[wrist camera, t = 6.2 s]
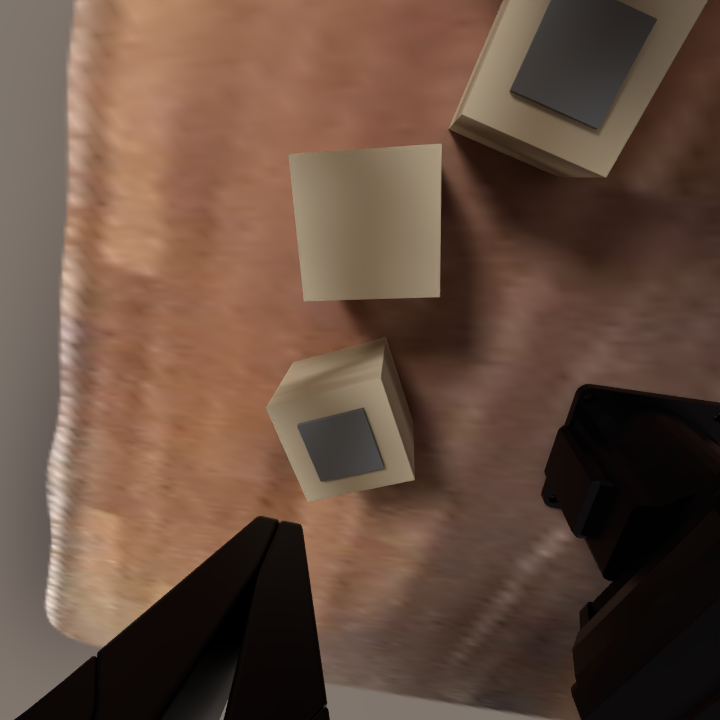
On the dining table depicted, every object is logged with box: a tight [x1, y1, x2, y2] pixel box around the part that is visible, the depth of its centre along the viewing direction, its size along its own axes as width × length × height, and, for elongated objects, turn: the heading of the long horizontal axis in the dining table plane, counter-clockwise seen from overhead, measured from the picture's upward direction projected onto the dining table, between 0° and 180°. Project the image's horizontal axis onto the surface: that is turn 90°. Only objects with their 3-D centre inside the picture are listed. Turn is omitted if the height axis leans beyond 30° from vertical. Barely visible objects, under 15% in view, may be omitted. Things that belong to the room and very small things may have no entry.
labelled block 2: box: [449, 0, 708, 178], centre depth 14 cm, size 4×4×5 cm
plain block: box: [288, 144, 442, 301], centre depth 16 cm, size 4×4×4 cm
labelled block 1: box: [266, 337, 415, 502], centre depth 19 cm, size 4×4×5 cm
